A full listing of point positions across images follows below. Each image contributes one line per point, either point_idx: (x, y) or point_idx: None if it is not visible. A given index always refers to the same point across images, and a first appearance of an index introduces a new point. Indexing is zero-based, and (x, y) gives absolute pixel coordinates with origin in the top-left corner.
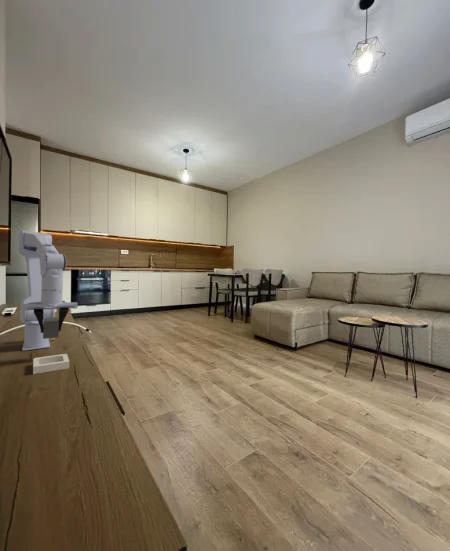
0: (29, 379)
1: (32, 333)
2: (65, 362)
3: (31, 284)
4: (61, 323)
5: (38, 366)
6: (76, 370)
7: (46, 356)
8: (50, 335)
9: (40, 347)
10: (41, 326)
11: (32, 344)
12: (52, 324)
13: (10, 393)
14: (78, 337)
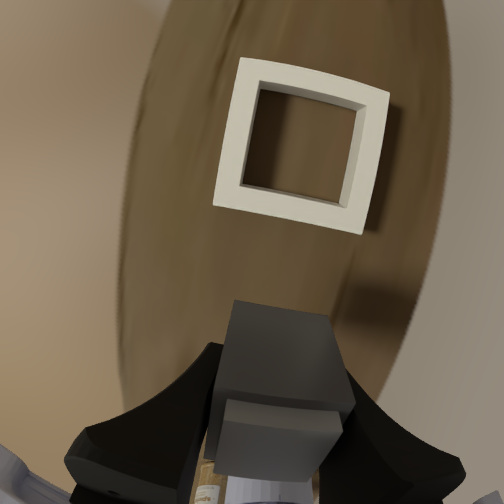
0: (392, 57)
1: None
2: (258, 61)
3: None
4: (190, 375)
5: (371, 86)
6: (227, 28)
7: (309, 220)
8: (286, 319)
9: None
10: (355, 388)
11: None
12: (277, 375)
13: (434, 3)
14: None
